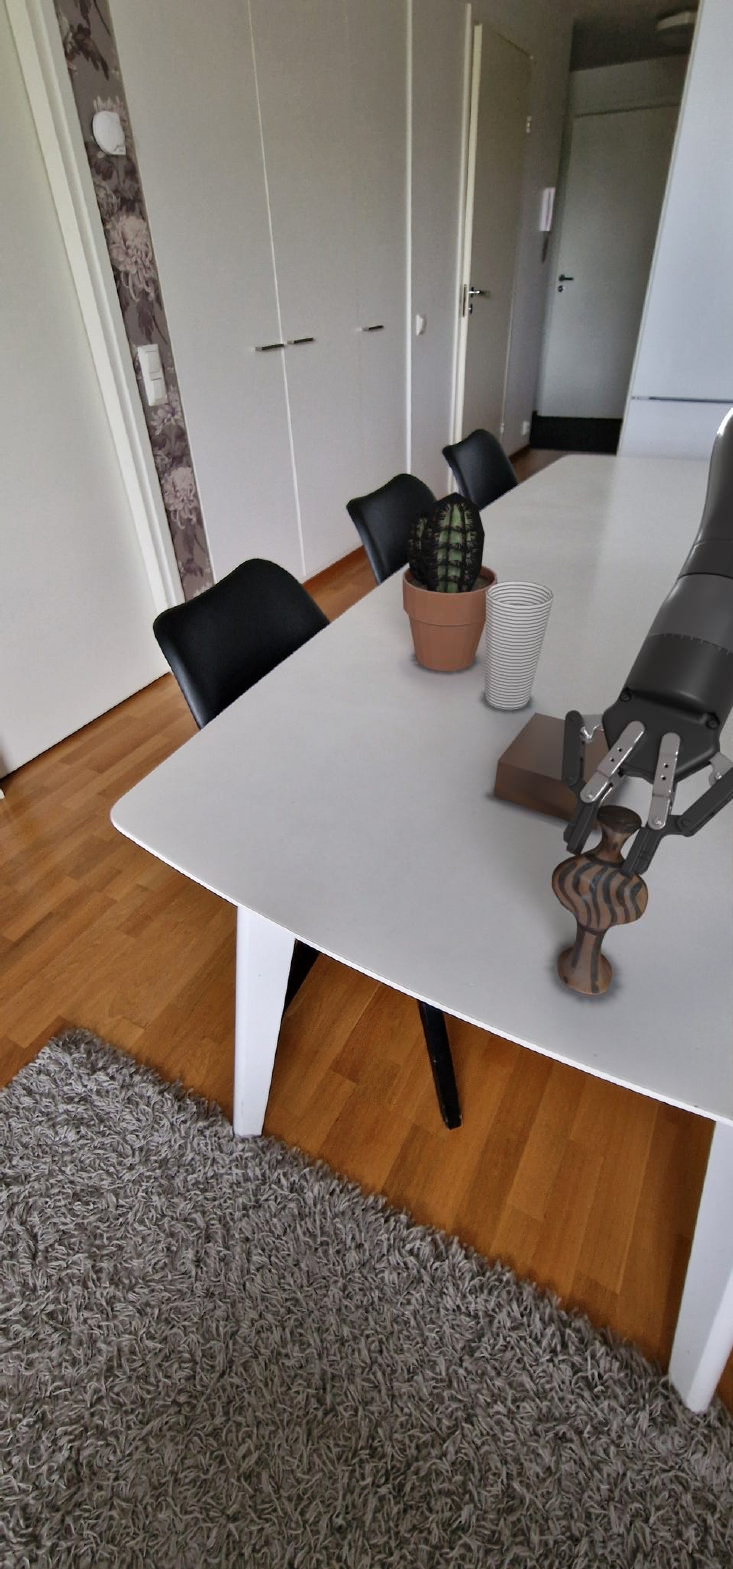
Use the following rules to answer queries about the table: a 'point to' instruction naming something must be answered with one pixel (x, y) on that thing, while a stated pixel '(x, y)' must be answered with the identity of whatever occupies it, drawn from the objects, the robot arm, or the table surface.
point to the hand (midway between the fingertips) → (599, 863)
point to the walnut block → (544, 768)
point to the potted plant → (446, 583)
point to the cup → (514, 640)
